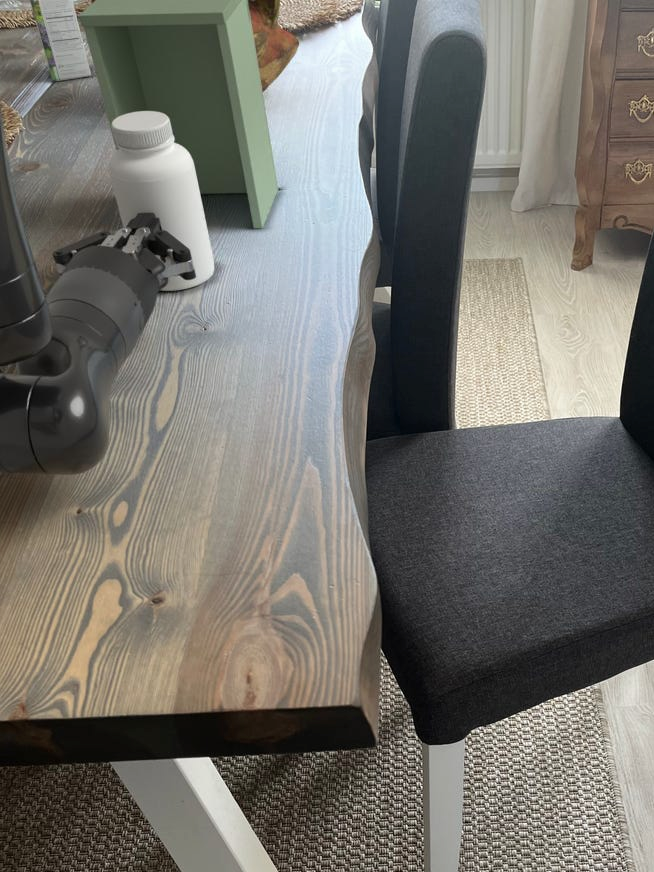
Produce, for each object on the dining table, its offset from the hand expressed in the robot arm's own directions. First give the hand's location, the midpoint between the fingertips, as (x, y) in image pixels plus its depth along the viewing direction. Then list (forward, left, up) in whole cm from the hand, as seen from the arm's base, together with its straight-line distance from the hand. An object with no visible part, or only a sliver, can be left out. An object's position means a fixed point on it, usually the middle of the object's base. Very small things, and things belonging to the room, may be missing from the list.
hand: (149, 222), depth 96 cm
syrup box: (-32, +72, -7) cm, 79 cm away
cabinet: (0, +20, -7) cm, 21 cm away
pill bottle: (0, +4, -7) cm, 8 cm away
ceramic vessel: (-7, +57, -7) cm, 58 cm away
